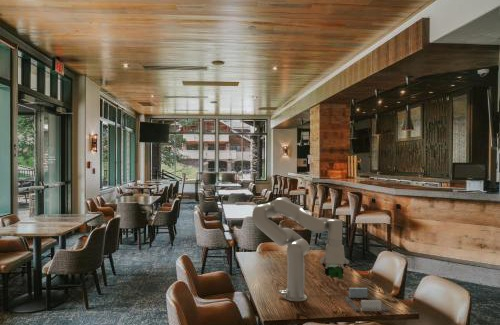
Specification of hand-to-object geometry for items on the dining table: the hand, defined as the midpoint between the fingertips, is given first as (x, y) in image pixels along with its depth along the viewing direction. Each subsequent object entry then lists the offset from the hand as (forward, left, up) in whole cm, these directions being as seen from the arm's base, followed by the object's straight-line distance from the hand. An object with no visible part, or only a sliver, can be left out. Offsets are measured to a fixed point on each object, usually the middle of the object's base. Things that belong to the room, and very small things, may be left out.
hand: (333, 275), depth 221 cm
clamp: (0, 0, -1) cm, 1 cm away
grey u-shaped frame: (+17, -2, -15) cm, 23 cm away
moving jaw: (+17, +11, -15) cm, 26 cm away
